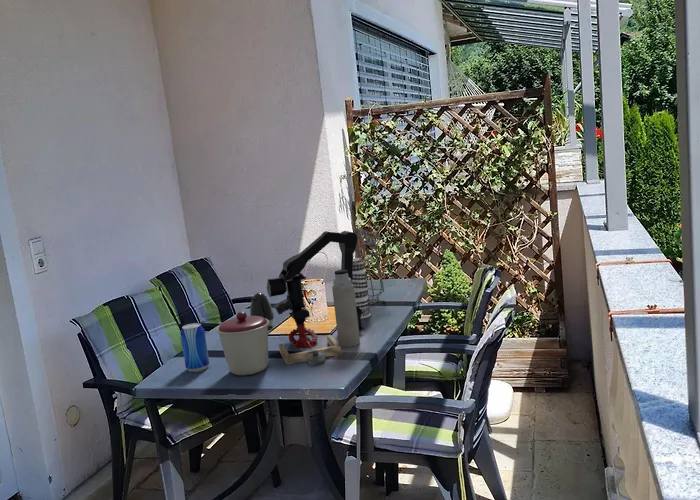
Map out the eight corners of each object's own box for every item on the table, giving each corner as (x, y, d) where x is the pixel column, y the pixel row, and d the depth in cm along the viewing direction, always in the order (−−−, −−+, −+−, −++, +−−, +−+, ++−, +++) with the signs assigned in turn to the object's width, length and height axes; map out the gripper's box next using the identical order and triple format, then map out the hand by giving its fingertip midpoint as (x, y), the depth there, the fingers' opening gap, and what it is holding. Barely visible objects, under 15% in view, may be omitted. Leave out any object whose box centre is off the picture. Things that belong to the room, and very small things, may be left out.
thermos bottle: (343, 340, 250) (334, 268, 245) (362, 340, 247) (354, 267, 242) (335, 346, 242) (327, 273, 238) (356, 346, 239) (347, 272, 235)
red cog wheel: (298, 352, 241) (295, 330, 240) (285, 345, 252) (283, 324, 251) (324, 345, 246) (321, 323, 245) (311, 338, 257) (308, 318, 255)
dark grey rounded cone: (246, 330, 278) (241, 295, 276) (260, 323, 287) (255, 289, 285) (265, 331, 274) (261, 296, 271) (279, 324, 283) (275, 289, 280)
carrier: (331, 342, 248) (330, 332, 248) (346, 359, 227) (345, 348, 227) (279, 352, 243) (278, 341, 243) (289, 370, 222) (288, 359, 222)
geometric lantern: (390, 298, 305) (382, 225, 298) (373, 308, 292) (365, 232, 286) (361, 297, 314) (353, 225, 307) (344, 306, 301) (335, 232, 294)
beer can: (188, 366, 239) (181, 324, 237) (211, 363, 240) (204, 321, 237) (184, 374, 231) (177, 330, 228) (208, 370, 231) (201, 327, 229)
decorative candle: (346, 319, 278) (340, 261, 274) (354, 313, 287) (348, 257, 283) (366, 319, 275) (360, 261, 271) (374, 312, 283) (368, 256, 279)
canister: (252, 382, 215) (243, 320, 211) (212, 377, 224) (203, 318, 221) (285, 363, 230) (277, 305, 226) (246, 359, 239) (238, 303, 236)
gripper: (271, 290, 258) (276, 328, 261) (277, 300, 241) (283, 341, 243) (298, 286, 261) (303, 323, 264) (307, 295, 243) (312, 335, 246)
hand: (299, 330), depth 254 cm, fingers closed
